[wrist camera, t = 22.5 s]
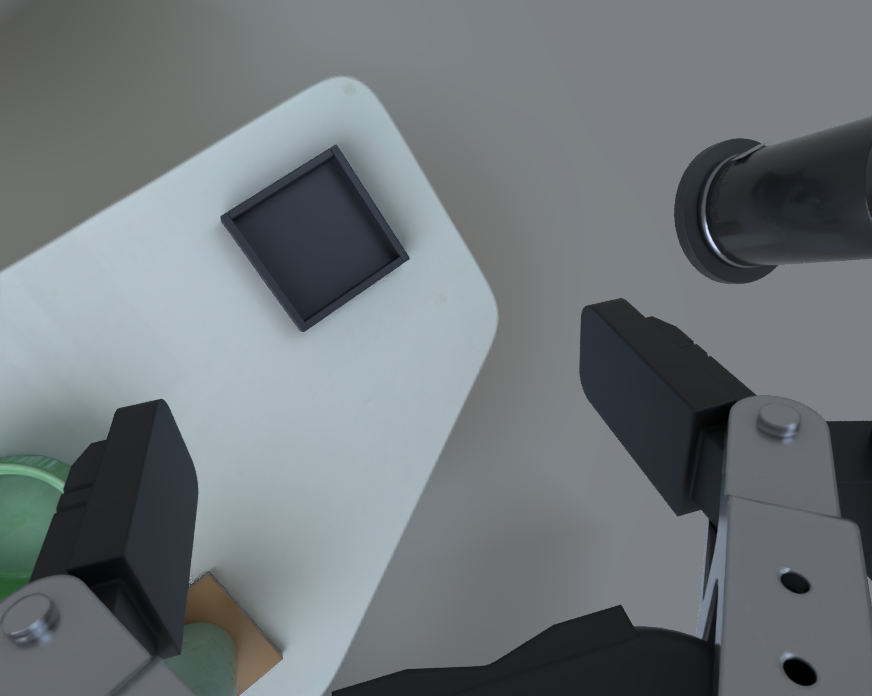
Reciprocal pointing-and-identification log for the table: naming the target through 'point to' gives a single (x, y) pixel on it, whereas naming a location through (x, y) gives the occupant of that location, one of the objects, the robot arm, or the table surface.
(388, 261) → the tray
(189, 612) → the coaster
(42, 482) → the ramekin
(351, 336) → the table surface
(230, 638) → the tin
